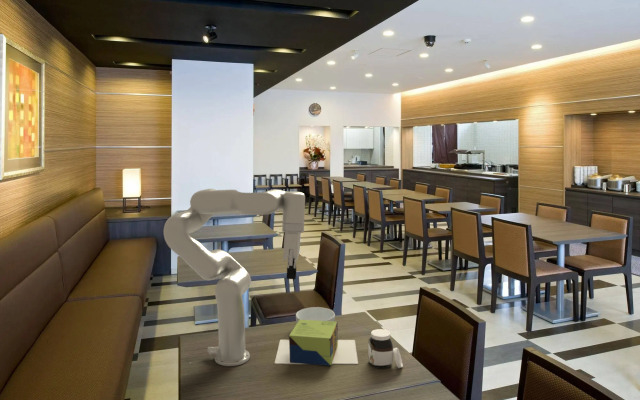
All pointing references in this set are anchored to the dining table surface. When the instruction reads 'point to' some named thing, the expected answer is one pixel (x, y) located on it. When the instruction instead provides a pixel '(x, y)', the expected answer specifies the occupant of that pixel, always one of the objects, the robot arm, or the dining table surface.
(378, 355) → the spread jar
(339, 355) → the display mat
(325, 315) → the cereal bowl
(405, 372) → the dining table surface
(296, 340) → the protein box
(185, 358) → the dining table surface
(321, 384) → the dining table surface
